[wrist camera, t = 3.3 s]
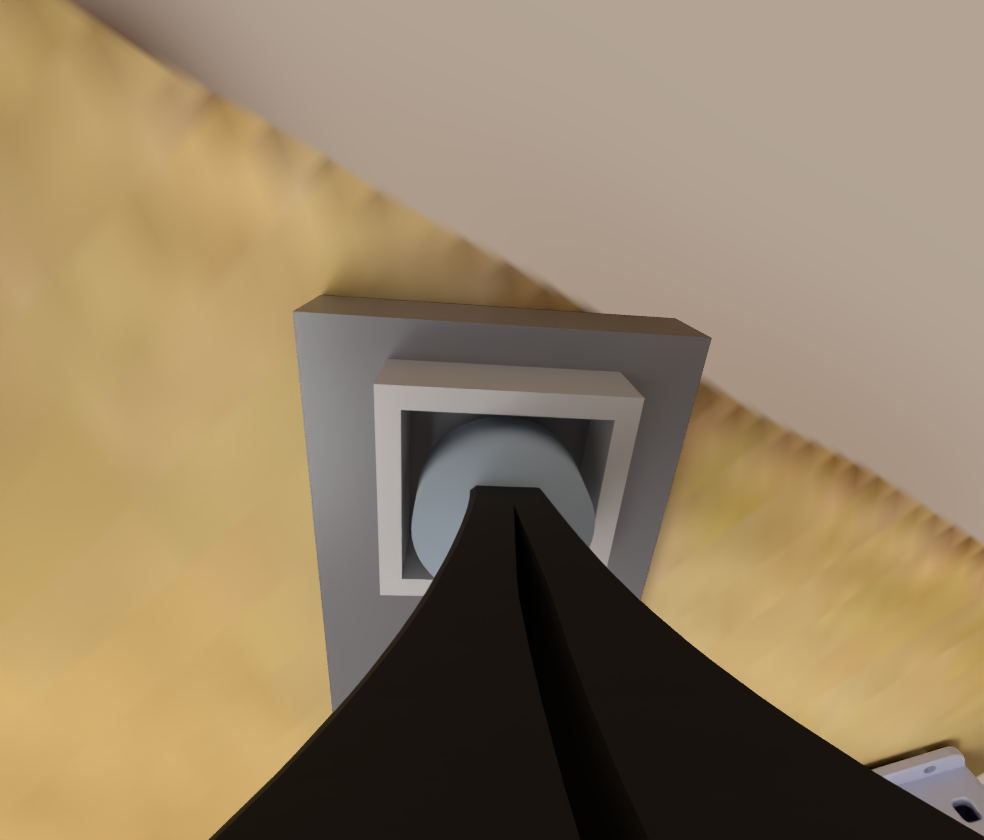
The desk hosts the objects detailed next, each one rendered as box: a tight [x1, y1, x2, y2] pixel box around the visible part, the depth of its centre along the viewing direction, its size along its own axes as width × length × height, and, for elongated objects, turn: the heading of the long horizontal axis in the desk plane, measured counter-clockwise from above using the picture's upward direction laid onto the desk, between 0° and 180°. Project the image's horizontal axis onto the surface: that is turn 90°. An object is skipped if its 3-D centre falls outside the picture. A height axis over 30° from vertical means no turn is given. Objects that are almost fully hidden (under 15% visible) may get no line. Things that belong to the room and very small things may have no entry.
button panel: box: [293, 295, 711, 712], centre depth 16 cm, size 27×9×4 cm, turn 176°
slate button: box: [411, 416, 595, 577], centre depth 10 cm, size 4×4×2 cm
